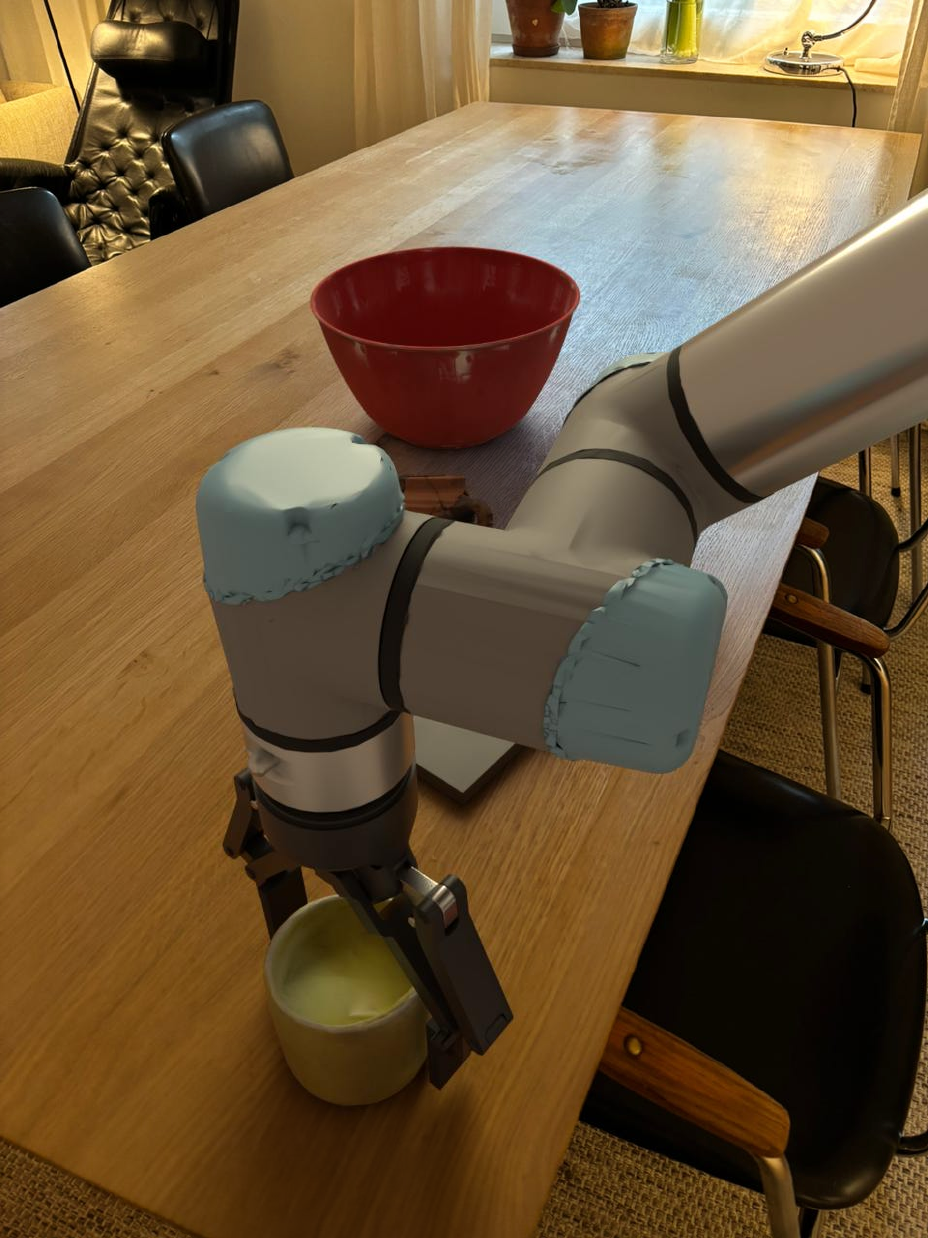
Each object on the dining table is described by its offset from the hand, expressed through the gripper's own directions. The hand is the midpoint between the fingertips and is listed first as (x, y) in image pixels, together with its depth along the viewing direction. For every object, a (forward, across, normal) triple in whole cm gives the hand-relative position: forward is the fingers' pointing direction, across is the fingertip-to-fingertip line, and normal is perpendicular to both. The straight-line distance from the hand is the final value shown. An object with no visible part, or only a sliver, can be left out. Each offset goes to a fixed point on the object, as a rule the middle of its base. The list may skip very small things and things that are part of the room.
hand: (367, 1000), depth 59 cm
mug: (+1, 0, 0) cm, 1 cm away
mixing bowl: (+1, -43, +58) cm, 72 cm away
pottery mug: (+1, -28, +39) cm, 48 cm away
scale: (+1, -14, +23) cm, 27 cm away
